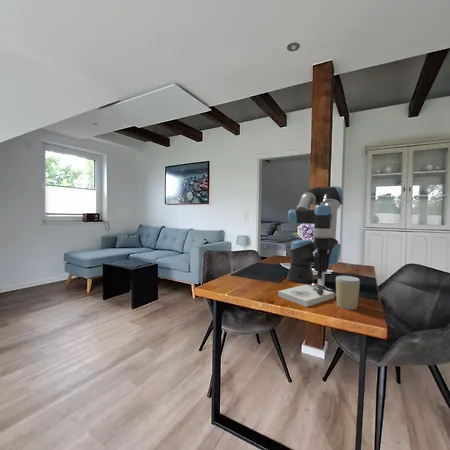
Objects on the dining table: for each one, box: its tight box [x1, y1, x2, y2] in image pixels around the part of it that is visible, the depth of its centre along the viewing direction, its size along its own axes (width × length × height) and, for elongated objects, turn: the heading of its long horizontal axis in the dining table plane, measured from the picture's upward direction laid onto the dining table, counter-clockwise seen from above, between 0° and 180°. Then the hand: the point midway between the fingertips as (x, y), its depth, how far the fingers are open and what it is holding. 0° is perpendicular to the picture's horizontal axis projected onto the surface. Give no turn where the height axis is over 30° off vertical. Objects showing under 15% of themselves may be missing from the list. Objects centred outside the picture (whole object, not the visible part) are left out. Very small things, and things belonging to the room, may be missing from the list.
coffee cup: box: [335, 275, 361, 311], centre depth 107 cm, size 9×9×12 cm
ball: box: [317, 287, 324, 295], centre depth 115 cm, size 3×3×3 cm
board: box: [277, 284, 335, 308], centre depth 119 cm, size 20×16×2 cm
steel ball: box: [310, 282, 319, 290], centre depth 122 cm, size 3×3×3 cm
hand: (320, 284), depth 125 cm, fingers closed
